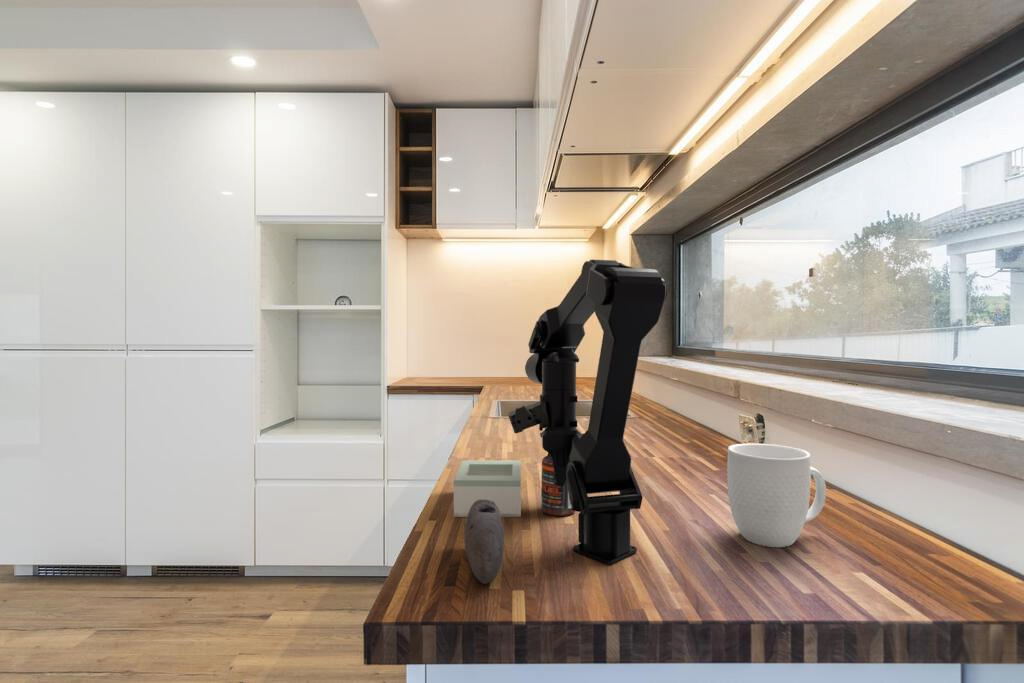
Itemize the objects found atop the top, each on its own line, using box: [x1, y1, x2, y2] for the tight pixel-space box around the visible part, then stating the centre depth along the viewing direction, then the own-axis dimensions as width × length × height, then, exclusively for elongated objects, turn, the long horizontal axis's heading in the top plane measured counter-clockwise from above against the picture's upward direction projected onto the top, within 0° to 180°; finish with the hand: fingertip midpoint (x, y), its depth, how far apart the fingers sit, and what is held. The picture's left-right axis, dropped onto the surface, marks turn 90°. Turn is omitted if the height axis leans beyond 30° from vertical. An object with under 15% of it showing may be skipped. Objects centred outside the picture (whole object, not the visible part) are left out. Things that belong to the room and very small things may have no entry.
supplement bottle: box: [540, 452, 576, 517], centre depth 92 cm, size 6×6×11 cm
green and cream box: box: [453, 459, 522, 518], centre depth 96 cm, size 11×14×6 cm
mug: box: [726, 442, 827, 548], centre depth 80 cm, size 15×11×13 cm
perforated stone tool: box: [464, 499, 505, 585], centre depth 70 cm, size 15×5×7 cm, turn 2°
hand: (558, 480), depth 92 cm, fingers closed on supplement bottle, 6 cm apart
